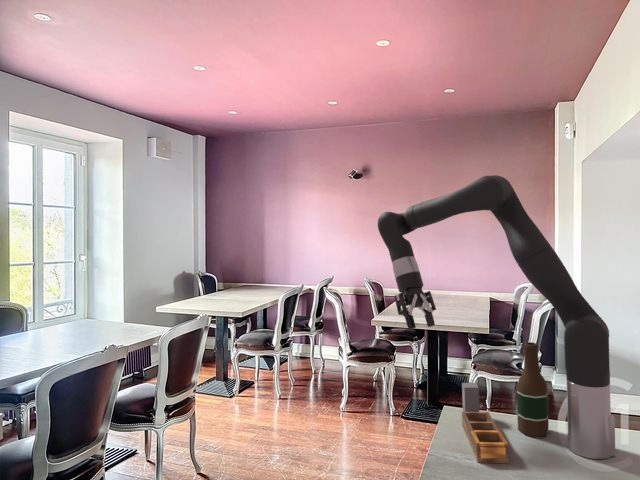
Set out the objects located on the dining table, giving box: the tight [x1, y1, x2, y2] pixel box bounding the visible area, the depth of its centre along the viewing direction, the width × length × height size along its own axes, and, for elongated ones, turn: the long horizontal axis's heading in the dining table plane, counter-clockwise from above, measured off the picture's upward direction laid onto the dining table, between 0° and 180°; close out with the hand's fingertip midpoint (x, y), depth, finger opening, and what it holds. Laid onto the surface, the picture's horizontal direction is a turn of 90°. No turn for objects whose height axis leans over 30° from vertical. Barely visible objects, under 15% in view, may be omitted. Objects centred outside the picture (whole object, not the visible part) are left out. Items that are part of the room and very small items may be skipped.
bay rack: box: [461, 411, 510, 464], centre depth 119 cm, size 7×21×4 cm, turn 173°
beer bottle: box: [516, 341, 549, 438], centre depth 124 cm, size 8×8×24 cm
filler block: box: [461, 382, 480, 412], centre depth 135 cm, size 4×4×10 cm
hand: (422, 327), depth 134 cm, fingers open, 8 cm apart
